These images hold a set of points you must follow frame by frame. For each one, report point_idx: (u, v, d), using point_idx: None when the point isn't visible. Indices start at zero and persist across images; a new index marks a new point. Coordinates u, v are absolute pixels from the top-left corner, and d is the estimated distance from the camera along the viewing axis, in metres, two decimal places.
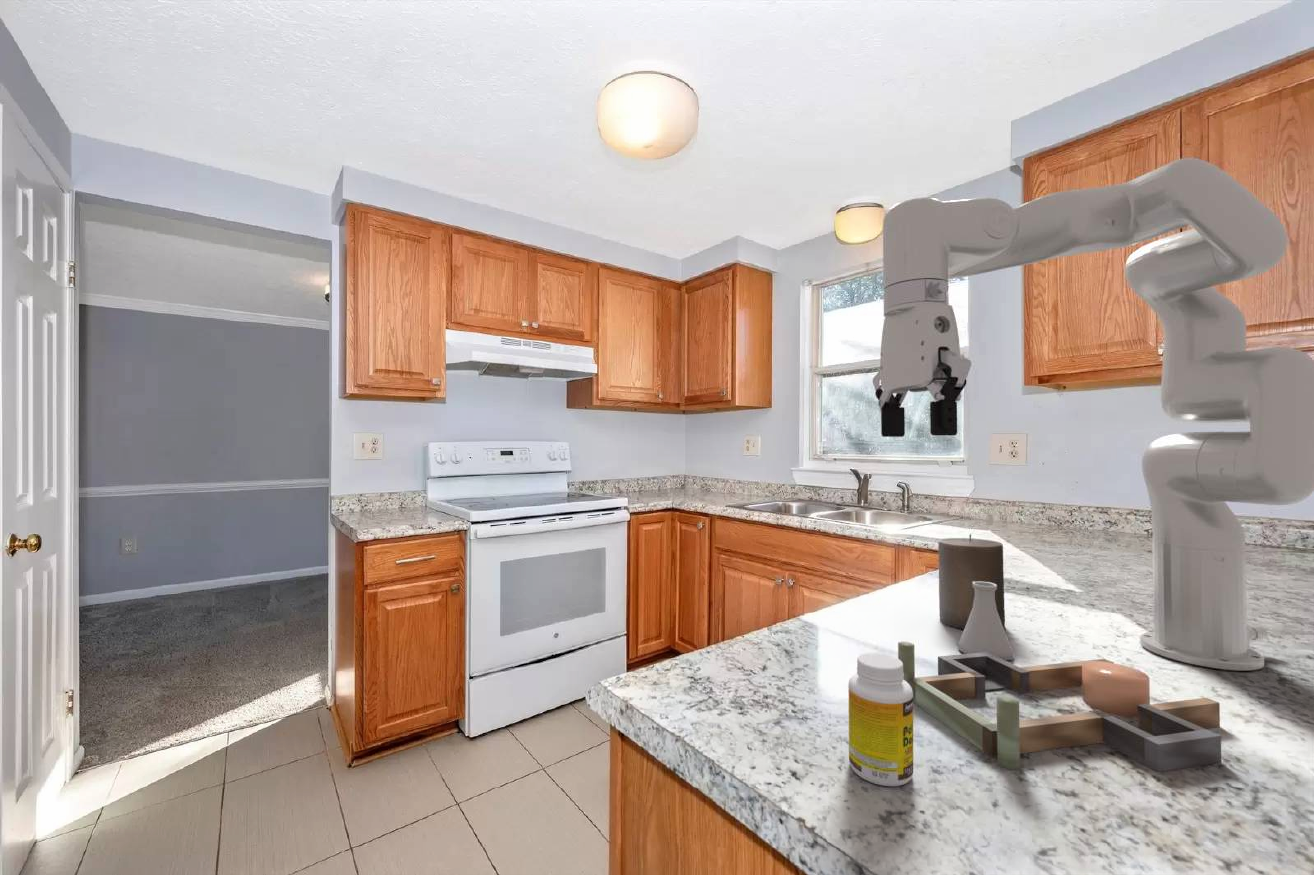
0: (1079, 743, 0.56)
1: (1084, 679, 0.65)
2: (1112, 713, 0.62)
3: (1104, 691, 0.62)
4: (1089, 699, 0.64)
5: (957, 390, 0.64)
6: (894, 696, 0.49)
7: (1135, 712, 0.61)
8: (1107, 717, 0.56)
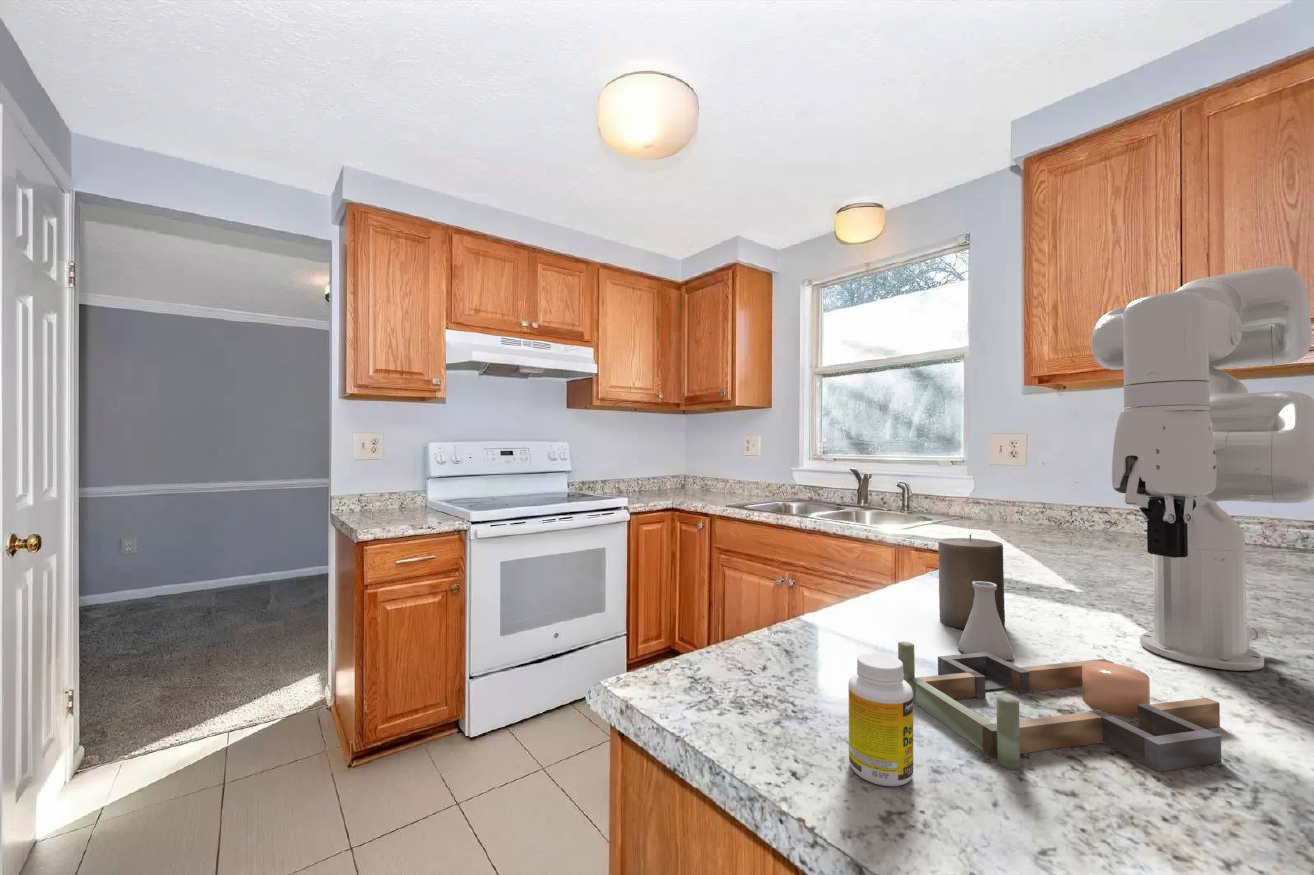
0: (1079, 743, 0.56)
1: (1084, 679, 0.65)
2: (1112, 713, 0.62)
3: (1104, 691, 0.62)
4: (1089, 699, 0.64)
5: None
6: (894, 696, 0.49)
7: (1135, 712, 0.61)
8: (1107, 717, 0.56)
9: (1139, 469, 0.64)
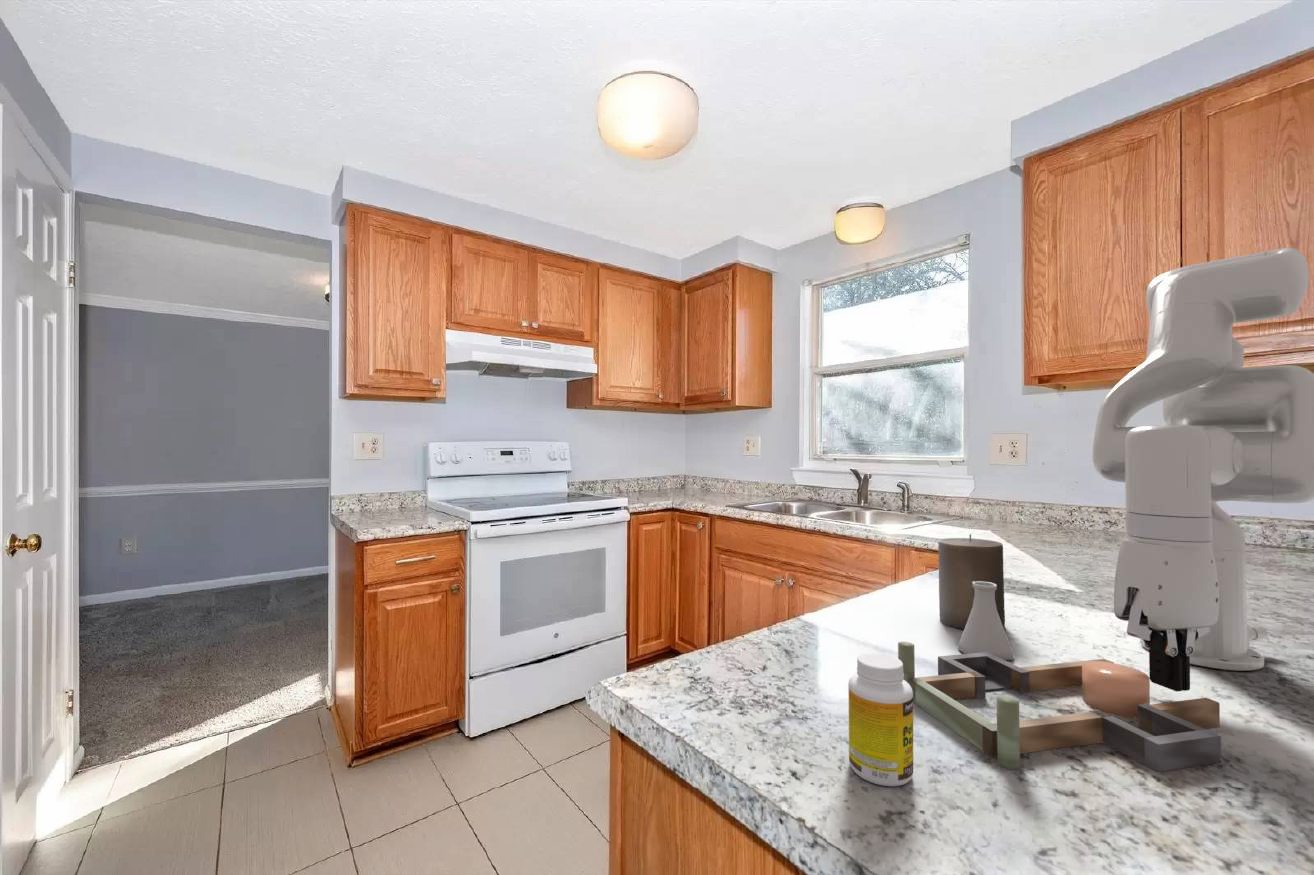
0: (1079, 743, 0.56)
1: (1084, 679, 0.65)
2: (1112, 713, 0.62)
3: (1105, 691, 0.62)
4: (1089, 699, 0.64)
5: None
6: (894, 696, 0.49)
7: (1135, 712, 0.61)
8: (1107, 717, 0.56)
9: (1141, 603, 0.64)
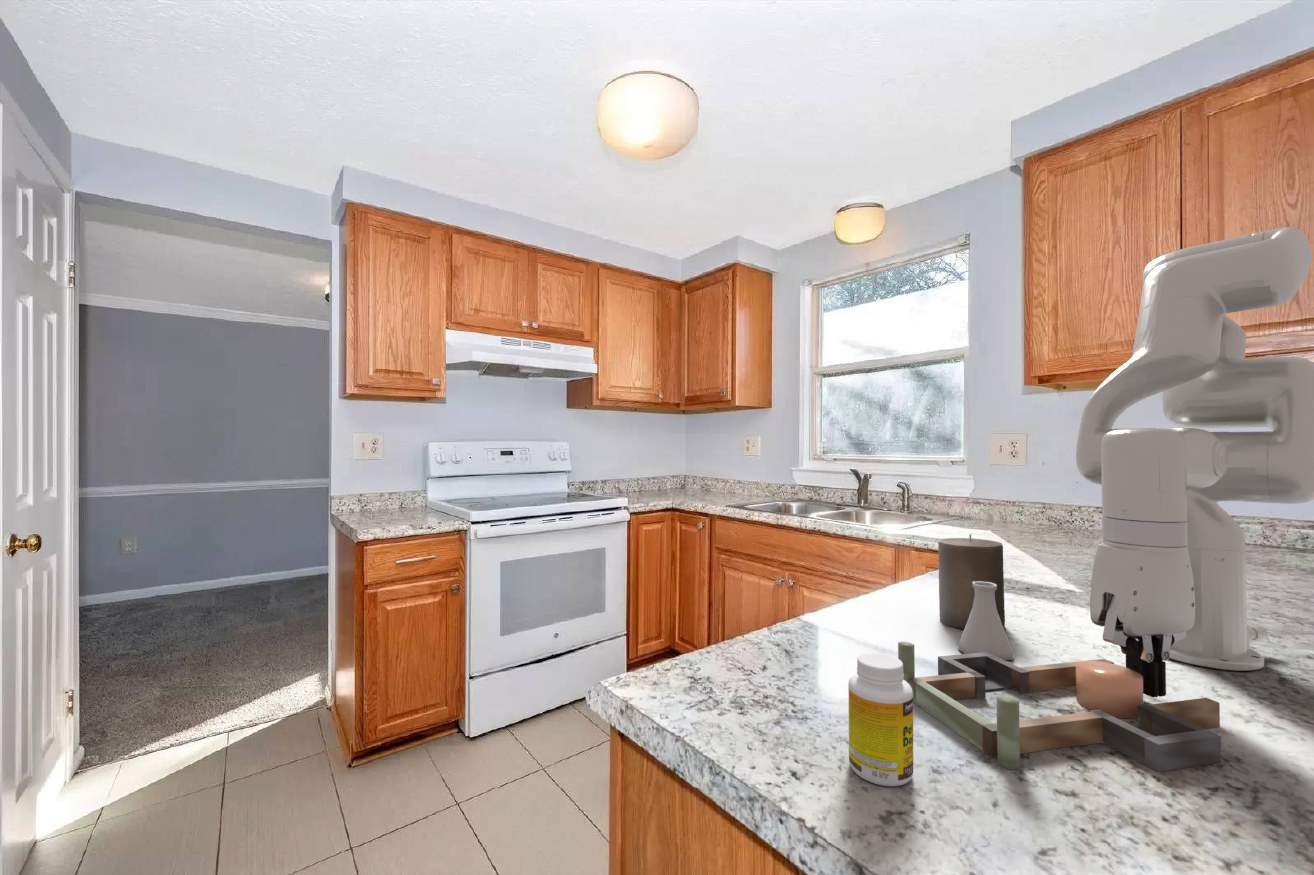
0: (1079, 743, 0.56)
1: (1078, 679, 0.65)
2: None
3: (1098, 691, 0.62)
4: (1083, 699, 0.64)
5: None
6: (894, 696, 0.49)
7: (1128, 712, 0.61)
8: (1107, 717, 0.56)
9: (1117, 609, 0.63)
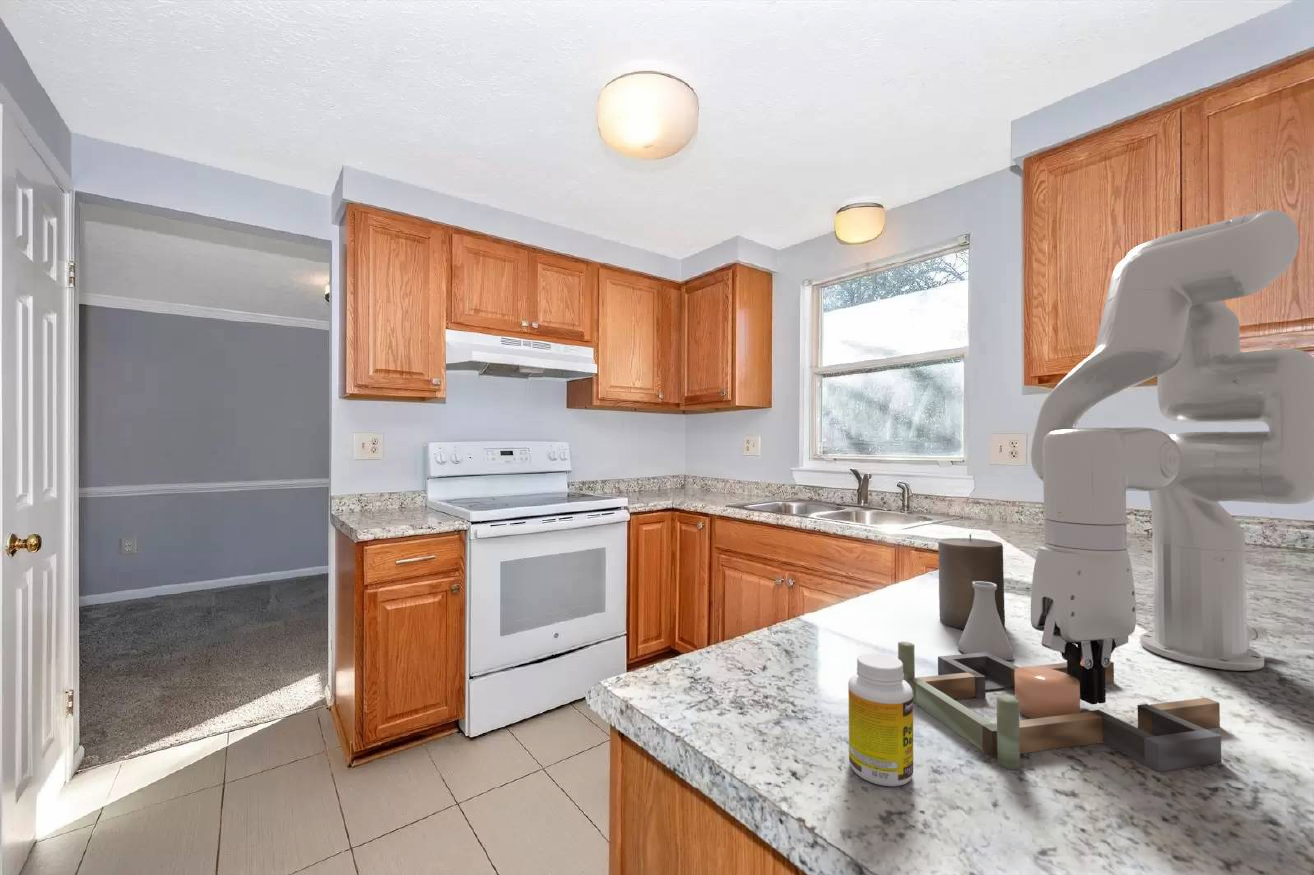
0: (1079, 743, 0.56)
1: (1016, 685, 0.63)
2: None
3: (1034, 697, 0.61)
4: (1020, 705, 0.62)
5: None
6: (894, 696, 0.49)
7: None
8: (1107, 717, 0.56)
9: (1054, 614, 0.61)
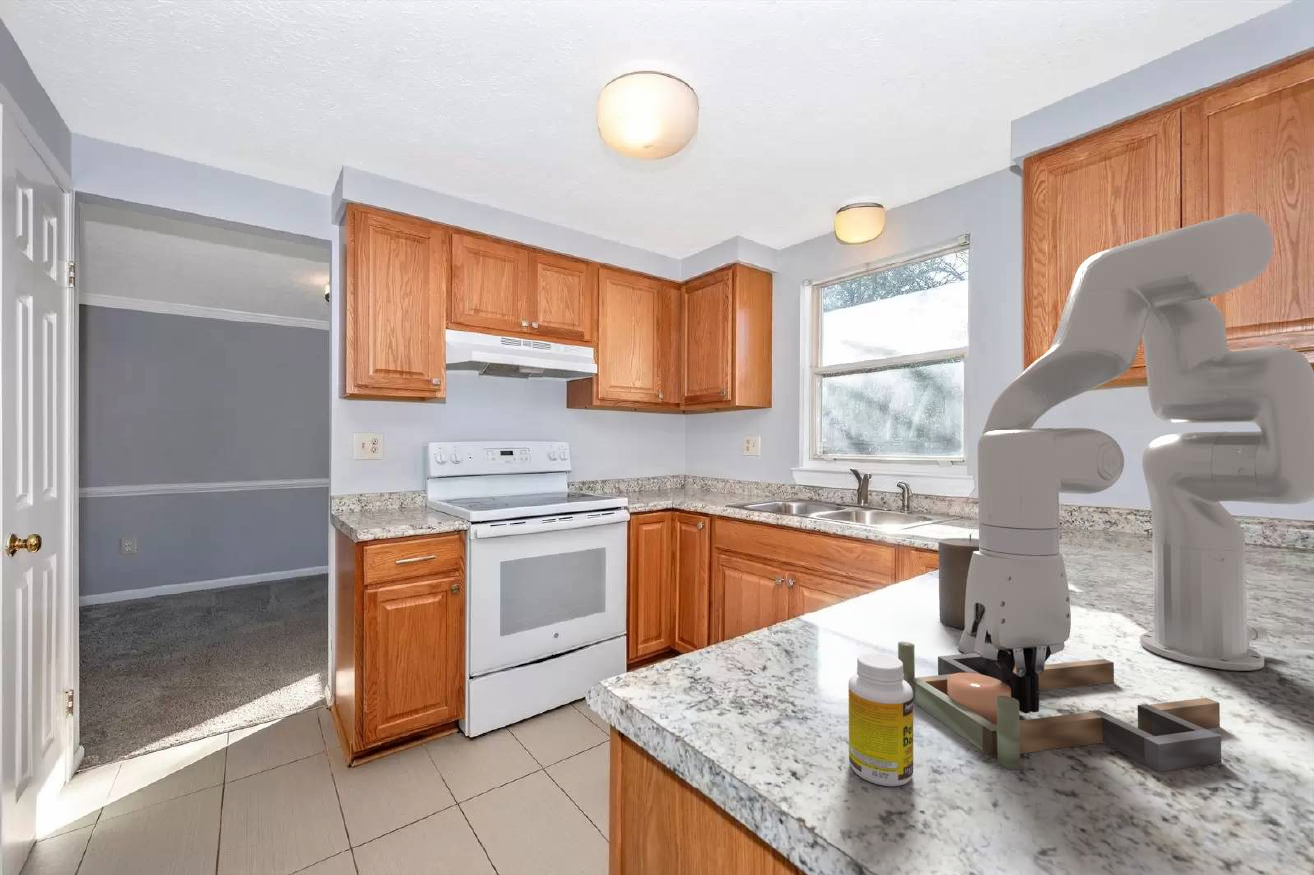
0: (1079, 743, 0.56)
1: (948, 692, 0.61)
2: None
3: (963, 705, 0.59)
4: None
5: None
6: (894, 696, 0.49)
7: None
8: (1107, 717, 0.56)
9: (986, 620, 0.60)
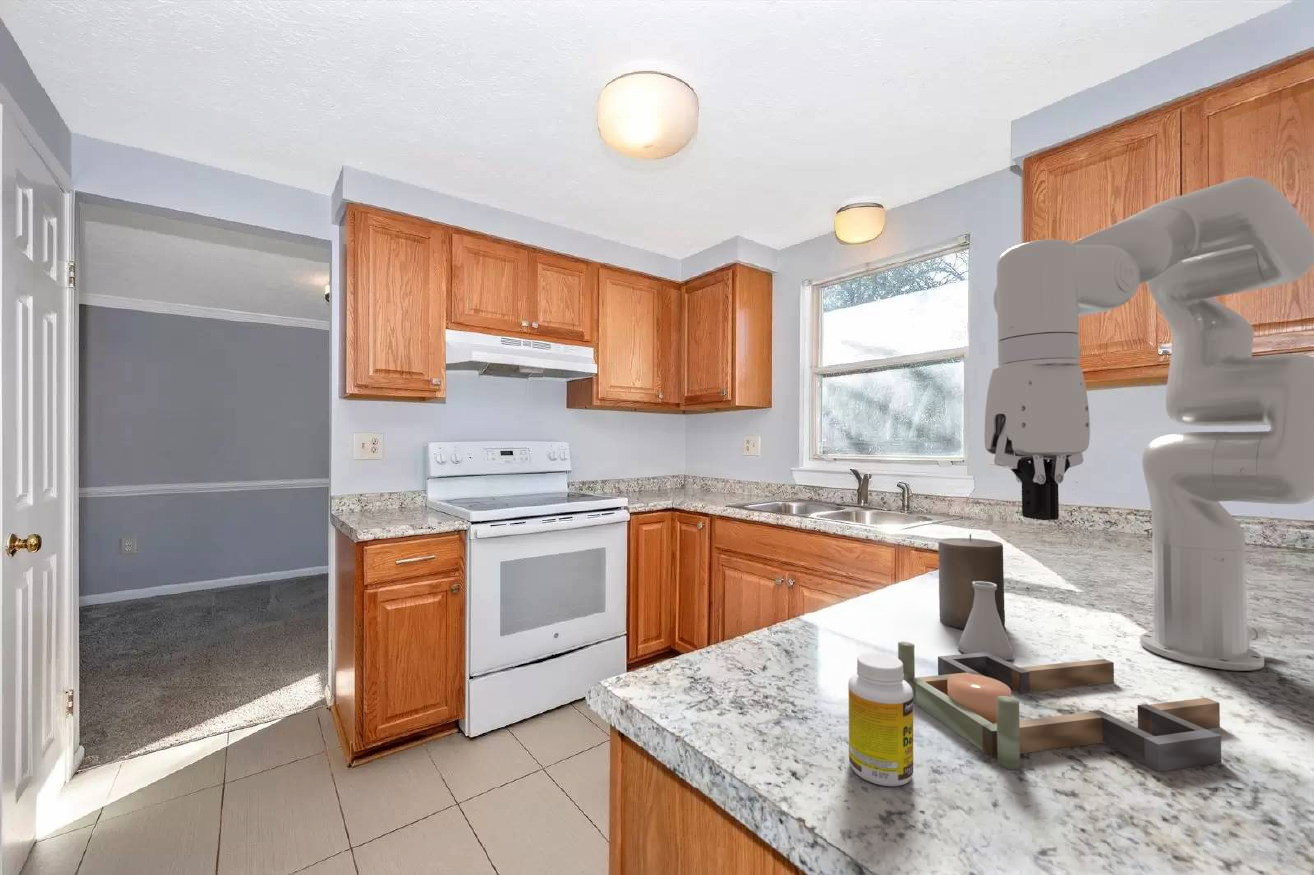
0: (1079, 743, 0.56)
1: (948, 693, 0.61)
2: None
3: None
4: None
5: None
6: (894, 696, 0.49)
7: None
8: (1107, 717, 0.56)
9: (1006, 428, 0.61)
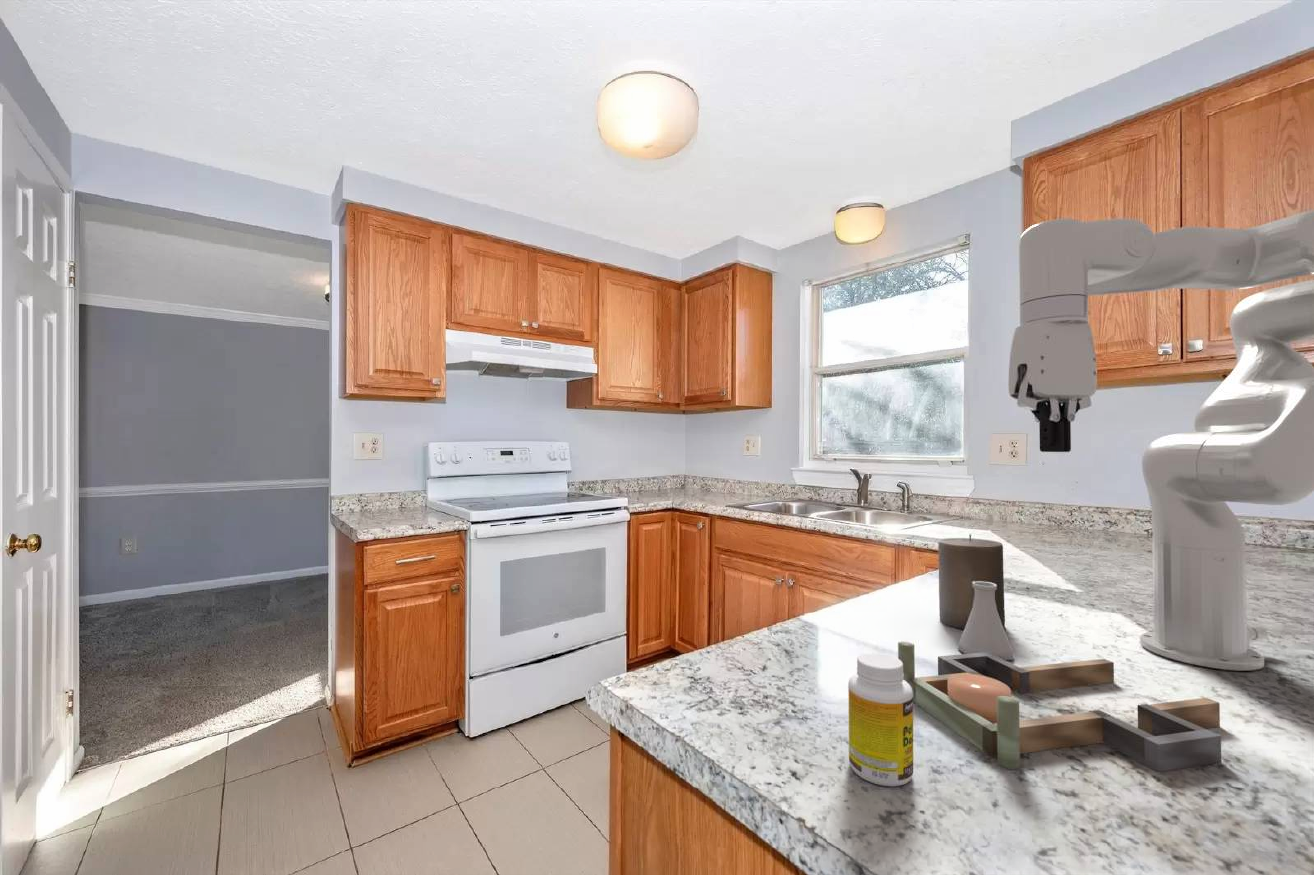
0: (1079, 743, 0.56)
1: (948, 693, 0.61)
2: None
3: None
4: None
5: None
6: (894, 696, 0.49)
7: None
8: (1107, 717, 0.56)
9: (1027, 374, 0.73)
